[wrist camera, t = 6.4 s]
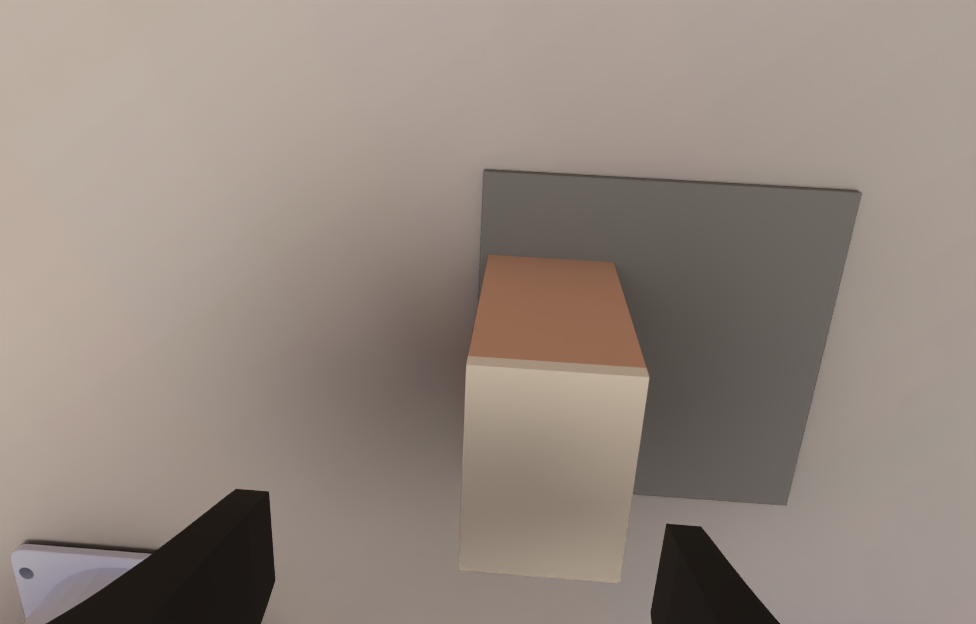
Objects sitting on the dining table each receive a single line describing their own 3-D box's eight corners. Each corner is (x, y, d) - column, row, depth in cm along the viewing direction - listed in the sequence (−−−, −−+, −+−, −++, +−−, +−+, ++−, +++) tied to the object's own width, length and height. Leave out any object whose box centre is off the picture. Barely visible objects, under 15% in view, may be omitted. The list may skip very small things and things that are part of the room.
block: (595, 418, 22) (619, 583, 16) (481, 410, 22) (458, 570, 16) (613, 262, 20) (649, 377, 14) (488, 254, 20) (466, 364, 14)
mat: (783, 499, 23) (786, 505, 23) (471, 476, 24) (470, 482, 23) (857, 190, 19) (861, 193, 19) (484, 169, 20) (483, 171, 20)
